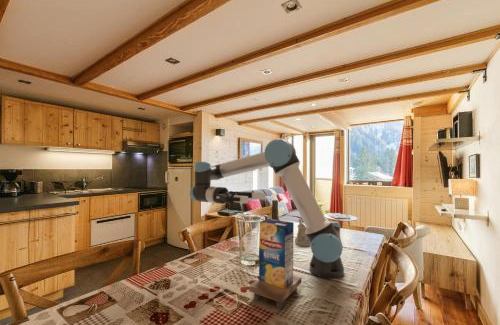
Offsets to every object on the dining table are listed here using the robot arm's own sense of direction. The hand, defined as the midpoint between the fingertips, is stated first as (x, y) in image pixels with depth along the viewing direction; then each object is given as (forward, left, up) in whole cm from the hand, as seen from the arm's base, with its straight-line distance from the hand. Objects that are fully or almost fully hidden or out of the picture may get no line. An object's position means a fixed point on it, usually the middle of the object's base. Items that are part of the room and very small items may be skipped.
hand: (256, 198), depth 100 cm
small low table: (+4, +11, -35) cm, 37 cm away
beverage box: (+3, +11, -30) cm, 32 cm away
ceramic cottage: (-64, -2, -35) cm, 73 cm away
